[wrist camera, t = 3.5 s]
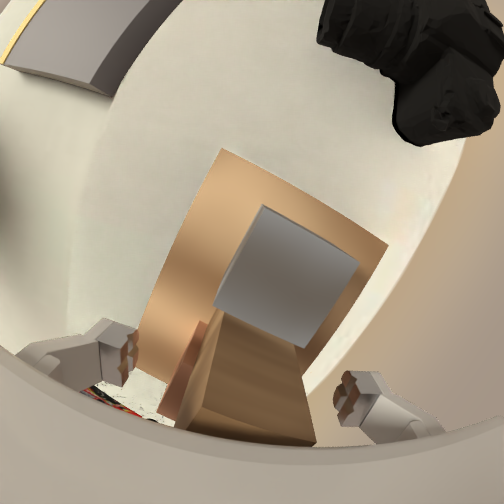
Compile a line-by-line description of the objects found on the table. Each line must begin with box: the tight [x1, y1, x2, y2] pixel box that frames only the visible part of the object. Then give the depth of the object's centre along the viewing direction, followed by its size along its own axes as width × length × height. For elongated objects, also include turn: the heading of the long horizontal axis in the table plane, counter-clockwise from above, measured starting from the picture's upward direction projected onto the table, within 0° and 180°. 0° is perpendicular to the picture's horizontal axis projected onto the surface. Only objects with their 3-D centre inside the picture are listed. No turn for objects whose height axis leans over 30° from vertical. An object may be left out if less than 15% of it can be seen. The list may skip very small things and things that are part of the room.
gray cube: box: [212, 204, 360, 348], centre depth 12 cm, size 4×4×4 cm
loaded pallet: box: [135, 148, 389, 447], centre depth 11 cm, size 14×10×12 cm
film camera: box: [316, 0, 504, 147], centre depth 9 cm, size 15×10×9 cm, turn 167°
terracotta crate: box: [156, 320, 208, 421], centre depth 13 cm, size 4×4×4 cm
